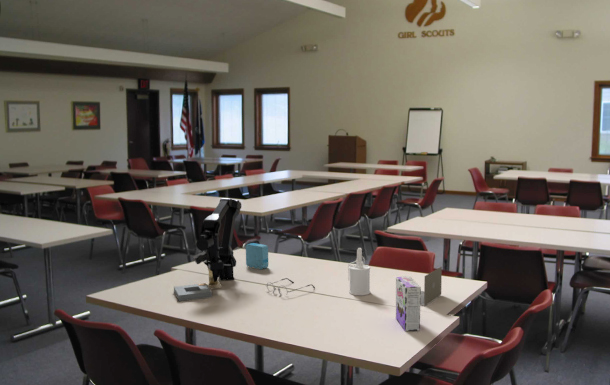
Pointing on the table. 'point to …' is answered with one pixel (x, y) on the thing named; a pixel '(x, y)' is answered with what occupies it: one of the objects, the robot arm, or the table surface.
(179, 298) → the hole plate
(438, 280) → the laptop
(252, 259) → the data package
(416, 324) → the candy box
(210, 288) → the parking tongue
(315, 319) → the table surface
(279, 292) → the eyeglasses
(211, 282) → the brass peg
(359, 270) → the white squeeze bottle
